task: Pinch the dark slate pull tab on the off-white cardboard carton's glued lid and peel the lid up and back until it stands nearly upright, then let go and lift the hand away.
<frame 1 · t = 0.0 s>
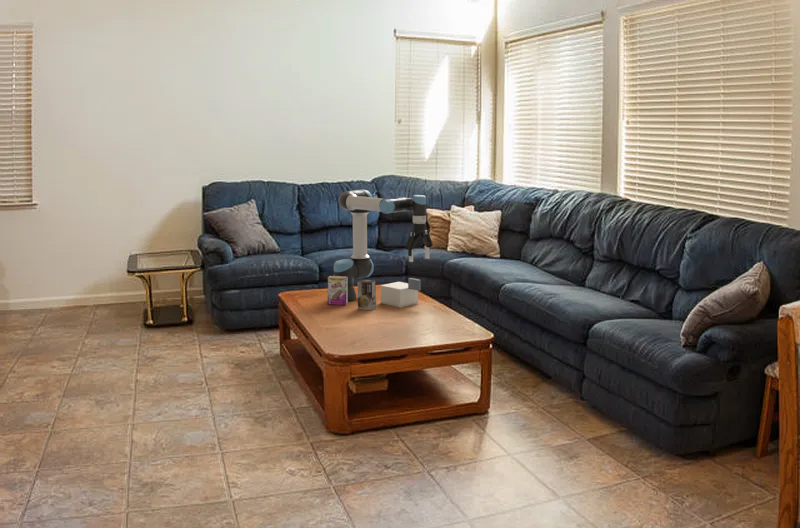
hand: (419, 260, 439), 28 cm above the table, fingers open, 13 cm apart
flap: (404, 282, 452), point 13 cm above the table, hinge at 0.0°
coffee box: (367, 308, 444), on the table
carton: (399, 303, 457), on the table
candy bar box: (337, 304, 454), on the table
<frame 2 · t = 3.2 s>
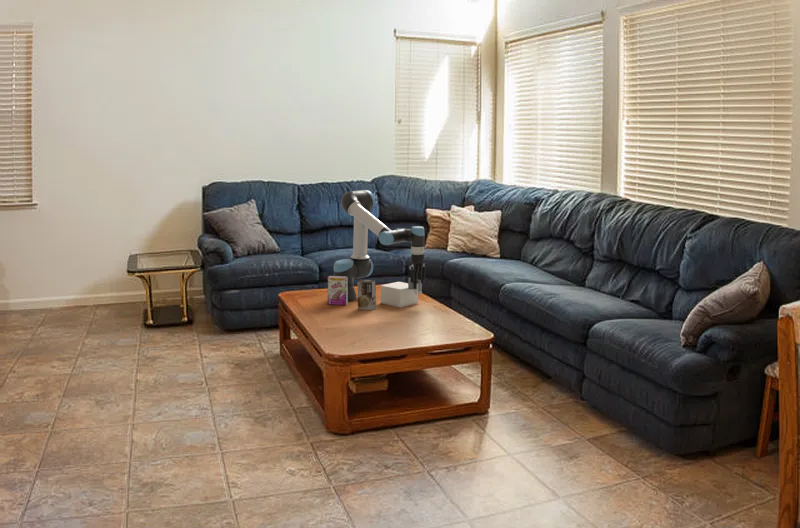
hand: (417, 294, 446), 8 cm above the table, fingers closed on flap, 2 cm apart
flap: (404, 282, 452), point 13 cm above the table, hinge at 0.0°, touching gripper
everything else where it was.
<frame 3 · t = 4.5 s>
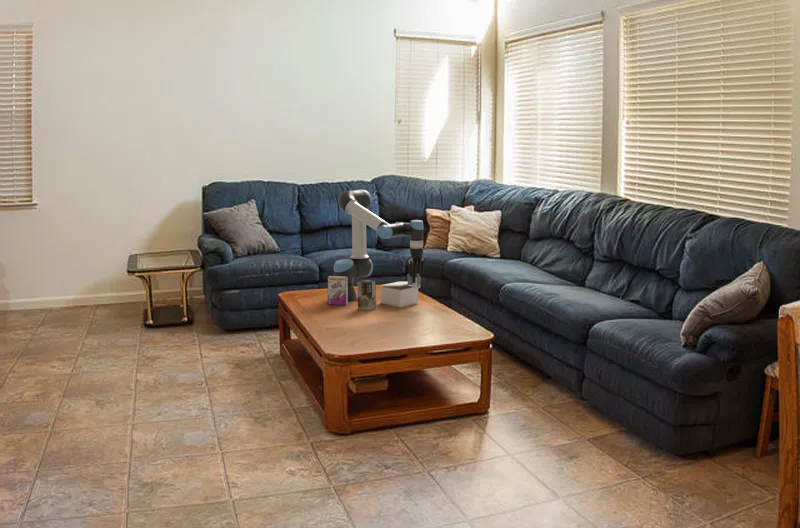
hand: (416, 287, 446), 11 cm above the table, fingers closed on flap, 2 cm apart
flap: (403, 279, 452), point 15 cm above the table, hinge at 8.5°, touching gripper
everything else where it was.
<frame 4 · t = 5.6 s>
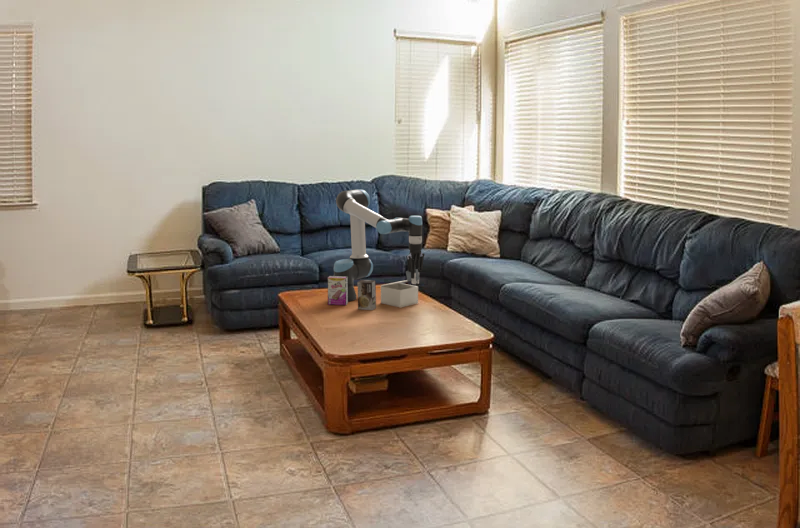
hand: (415, 283, 446), 14 cm above the table, fingers closed on flap, 2 cm apart
flap: (402, 277, 452), point 16 cm above the table, hinge at 15.0°, touching gripper
everything else where it was.
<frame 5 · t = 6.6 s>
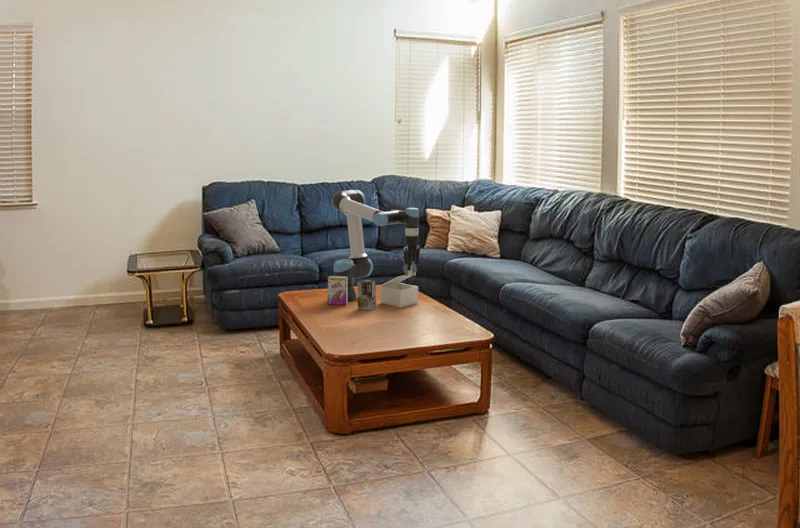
hand: (411, 275, 447), 18 cm above the table, fingers closed on flap, 2 cm apart
flap: (401, 273, 453), point 18 cm above the table, hinge at 27.2°, touching gripper
everything else where it was.
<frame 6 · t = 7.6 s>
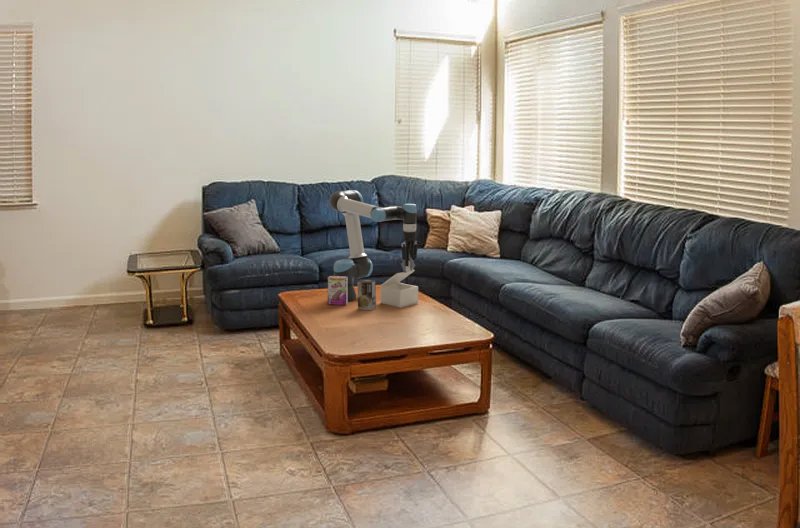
hand: (409, 271, 448), 20 cm above the table, fingers closed on flap, 2 cm apart
flap: (399, 271, 453), point 19 cm above the table, hinge at 34.2°, touching gripper
everything else where it was.
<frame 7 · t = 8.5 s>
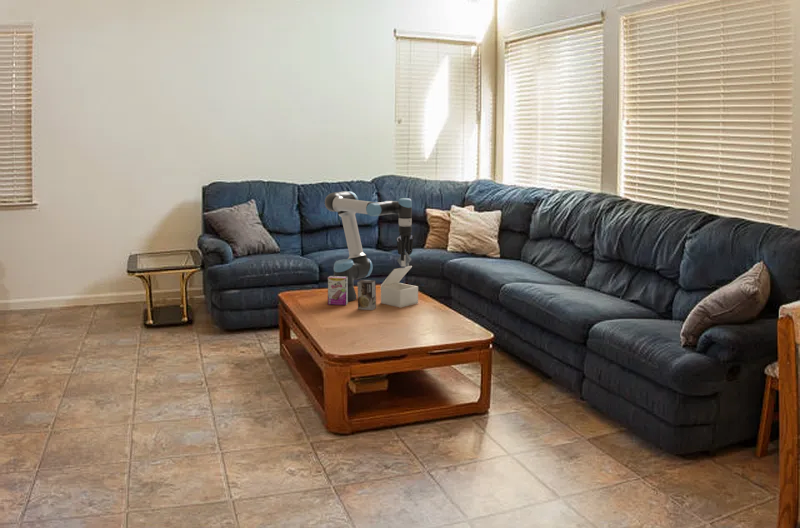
hand: (405, 265, 450), 23 cm above the table, fingers closed on flap, 2 cm apart
flap: (397, 268, 454), point 21 cm above the table, hinge at 45.0°, touching gripper
everything else where it was.
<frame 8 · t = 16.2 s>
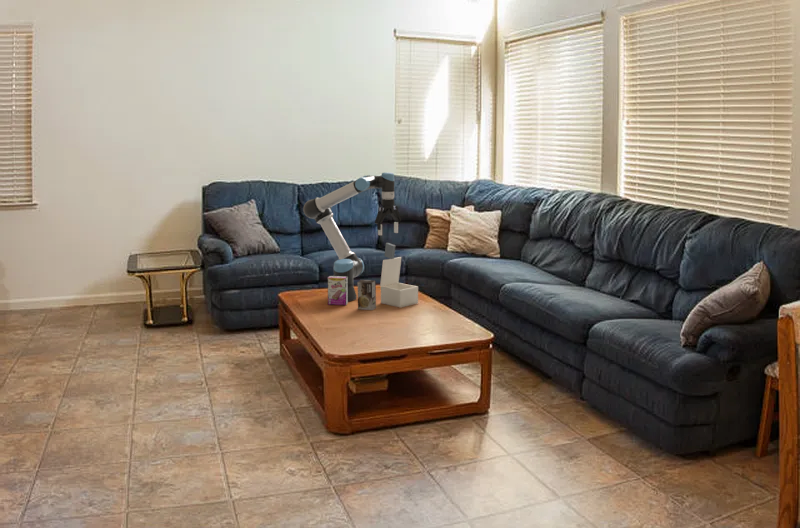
hand: (388, 234, 466), 39 cm above the table, fingers open, 13 cm apart
flap: (388, 263, 459), point 22 cm above the table, hinge at 80.7°
everything else where it was.
at the end: flap at +81° (first picture: +0°); candy bar box moved 0.2 cm from its start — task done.
